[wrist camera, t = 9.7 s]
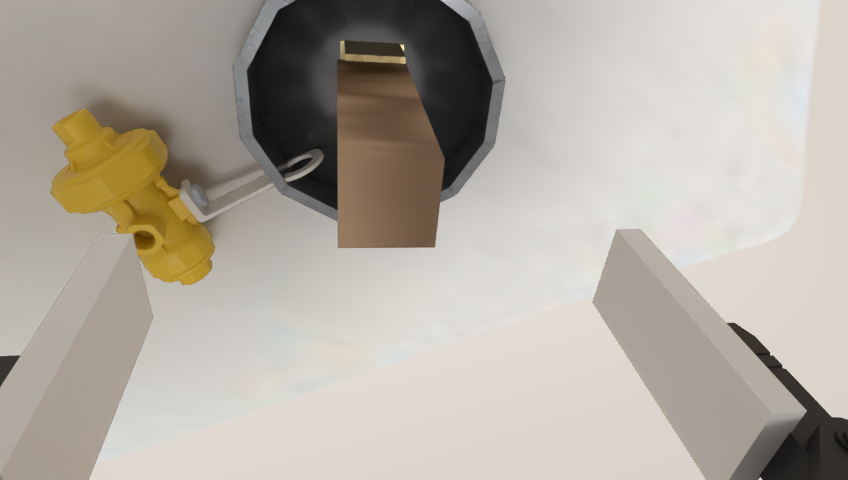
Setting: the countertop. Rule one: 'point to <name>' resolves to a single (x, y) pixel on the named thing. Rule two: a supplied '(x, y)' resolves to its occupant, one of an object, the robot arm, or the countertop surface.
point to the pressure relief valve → (147, 194)
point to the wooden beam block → (385, 159)
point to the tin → (369, 42)
